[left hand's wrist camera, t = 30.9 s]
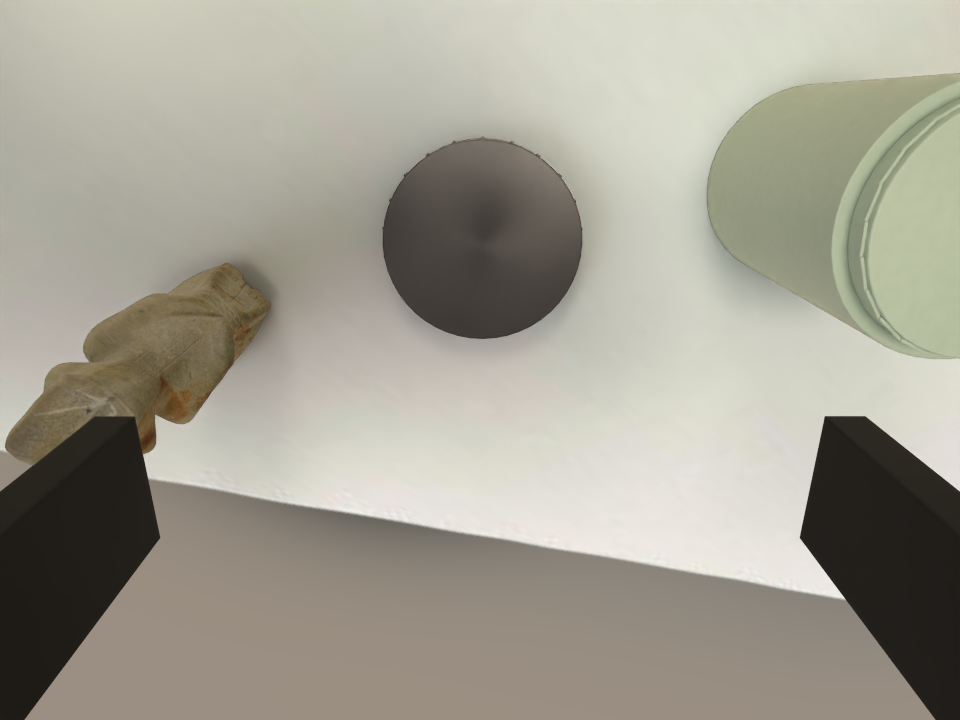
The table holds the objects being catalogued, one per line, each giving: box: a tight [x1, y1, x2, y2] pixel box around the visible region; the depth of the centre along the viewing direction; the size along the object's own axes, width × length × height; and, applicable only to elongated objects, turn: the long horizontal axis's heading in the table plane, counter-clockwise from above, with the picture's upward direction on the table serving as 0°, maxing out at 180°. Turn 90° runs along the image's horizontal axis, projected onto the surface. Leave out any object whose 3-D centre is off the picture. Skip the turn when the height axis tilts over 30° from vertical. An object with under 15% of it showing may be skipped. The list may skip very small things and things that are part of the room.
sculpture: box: [5, 263, 270, 466], centre depth 31 cm, size 6×7×15 cm
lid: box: [383, 137, 582, 339], centre depth 36 cm, size 11×11×2 cm
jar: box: [707, 73, 960, 359], centre depth 29 cm, size 10×10×15 cm
